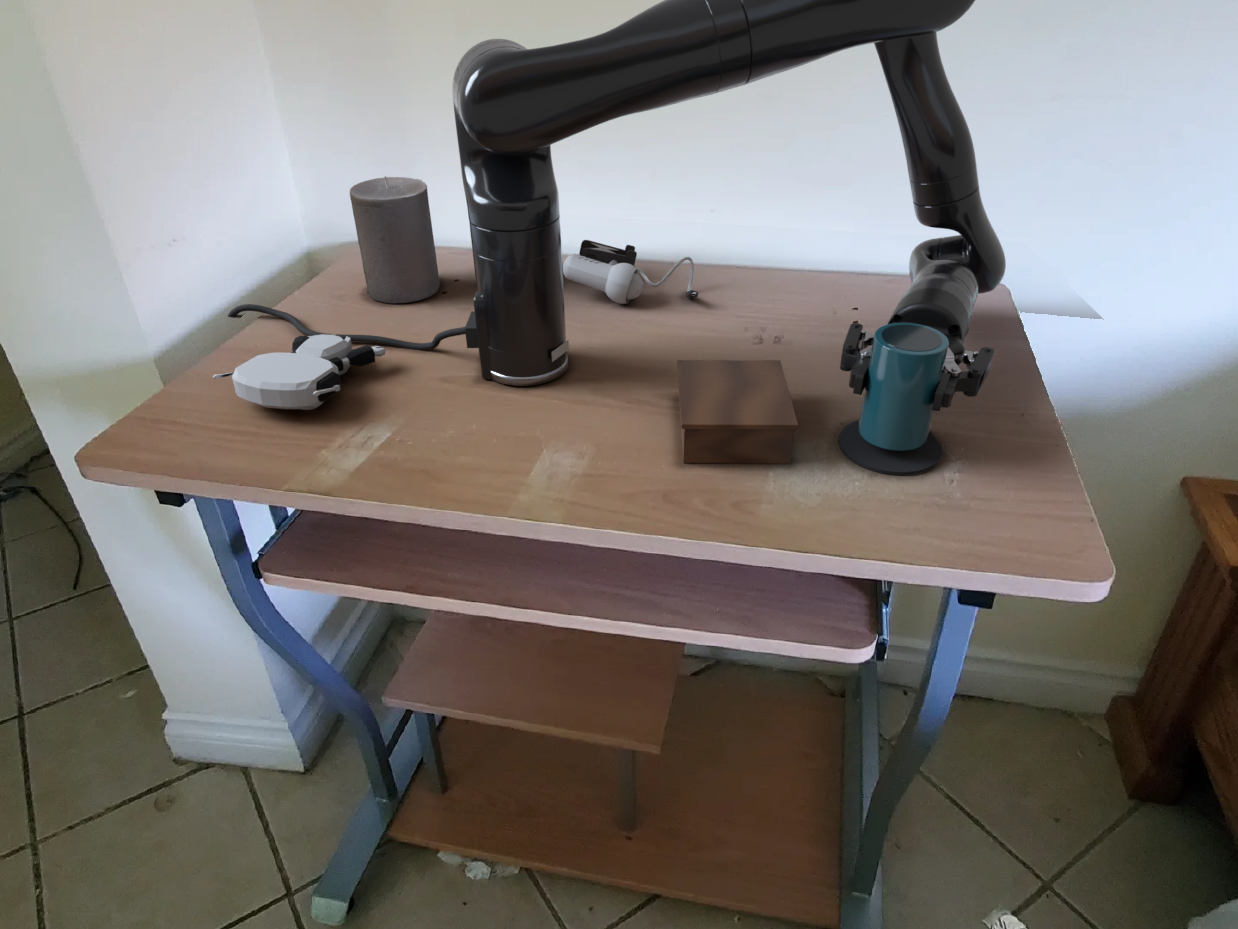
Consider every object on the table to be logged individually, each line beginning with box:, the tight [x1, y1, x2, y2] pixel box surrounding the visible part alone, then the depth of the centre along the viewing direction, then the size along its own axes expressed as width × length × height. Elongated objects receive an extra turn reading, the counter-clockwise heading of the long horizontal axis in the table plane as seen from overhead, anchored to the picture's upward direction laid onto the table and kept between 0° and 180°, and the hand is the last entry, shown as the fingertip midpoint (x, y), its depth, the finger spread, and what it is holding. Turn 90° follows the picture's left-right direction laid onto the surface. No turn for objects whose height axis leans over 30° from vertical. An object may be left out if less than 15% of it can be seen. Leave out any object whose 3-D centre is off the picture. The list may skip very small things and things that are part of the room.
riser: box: [676, 359, 799, 465], centre depth 84 cm, size 11×13×4 cm
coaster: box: [838, 419, 943, 476], centre depth 83 cm, size 10×10×1 cm
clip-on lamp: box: [562, 239, 699, 305], centre depth 112 cm, size 12×6×18 cm
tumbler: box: [858, 323, 949, 451], centre depth 79 cm, size 6×6×10 cm
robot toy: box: [212, 333, 386, 411], centre depth 92 cm, size 12×4×15 cm
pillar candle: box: [349, 175, 441, 304], centre depth 111 cm, size 10×10×15 cm
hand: (897, 393), depth 77 cm, fingers closed on tumbler, 6 cm apart
